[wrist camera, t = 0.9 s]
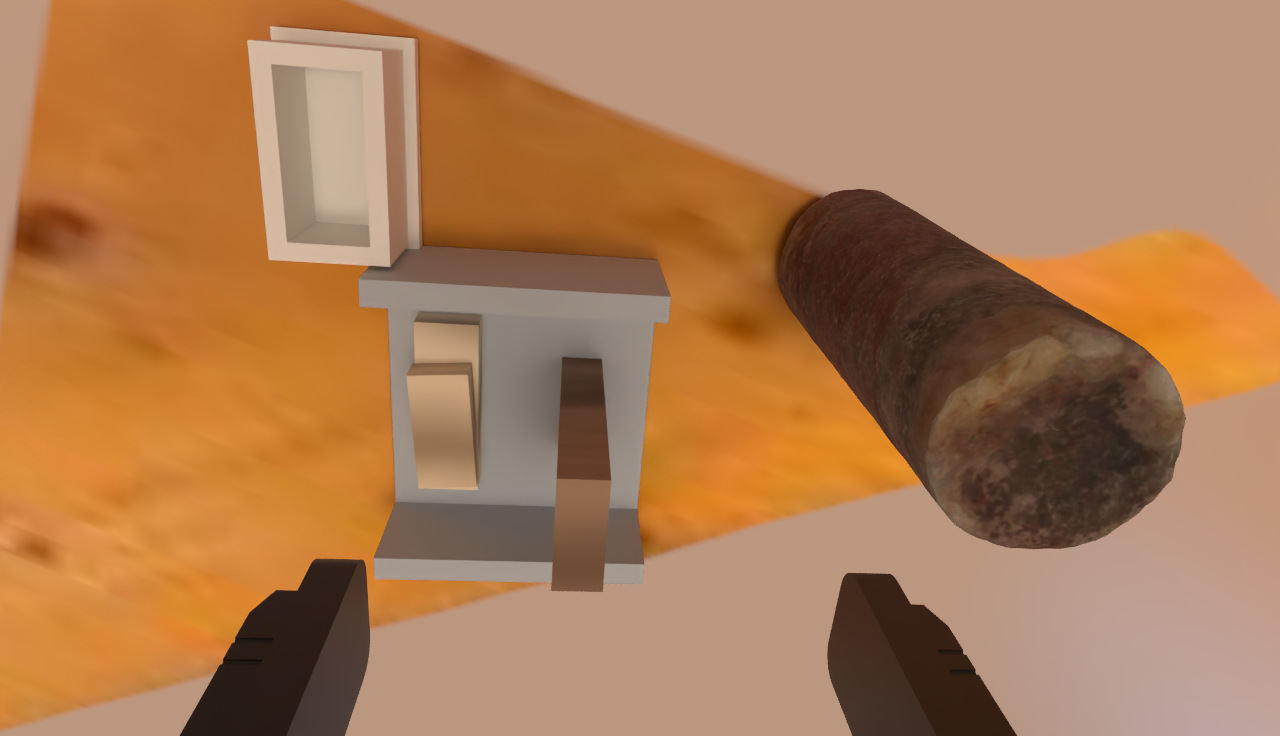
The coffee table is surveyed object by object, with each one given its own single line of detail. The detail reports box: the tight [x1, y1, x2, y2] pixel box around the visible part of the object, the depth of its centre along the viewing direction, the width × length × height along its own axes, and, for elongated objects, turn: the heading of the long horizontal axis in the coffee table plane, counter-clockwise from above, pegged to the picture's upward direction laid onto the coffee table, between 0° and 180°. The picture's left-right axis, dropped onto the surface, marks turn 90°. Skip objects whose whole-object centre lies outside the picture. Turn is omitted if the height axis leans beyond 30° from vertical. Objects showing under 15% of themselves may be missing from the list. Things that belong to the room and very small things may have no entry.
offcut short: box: [406, 363, 480, 488], centre depth 38 cm, size 6×3×2 cm, turn 179°
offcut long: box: [414, 312, 482, 490], centre depth 40 cm, size 9×3×2 cm, turn 175°
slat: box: [551, 357, 611, 592], centre depth 35 cm, size 5×2×12 cm, turn 175°
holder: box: [247, 26, 423, 267], centre depth 34 cm, size 10×6×5 cm, turn 175°
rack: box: [358, 245, 671, 584], centre depth 39 cm, size 15×13×6 cm
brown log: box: [779, 189, 1186, 549], centre depth 31 cm, size 8×7×20 cm
